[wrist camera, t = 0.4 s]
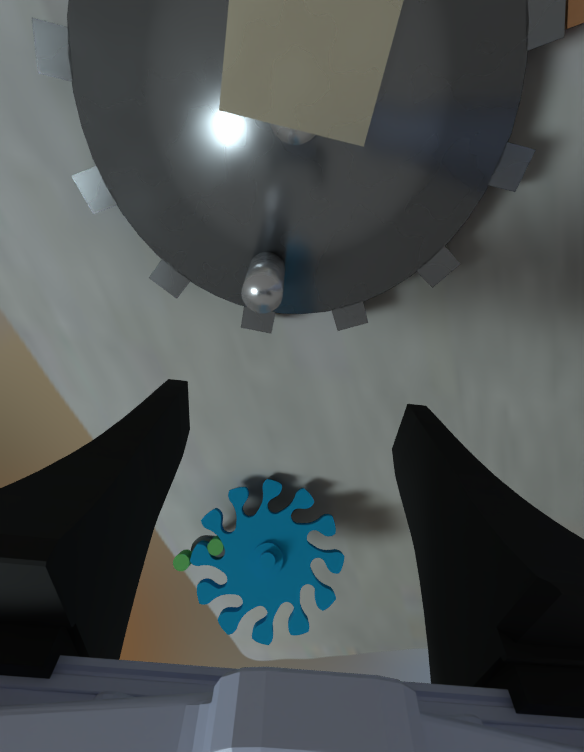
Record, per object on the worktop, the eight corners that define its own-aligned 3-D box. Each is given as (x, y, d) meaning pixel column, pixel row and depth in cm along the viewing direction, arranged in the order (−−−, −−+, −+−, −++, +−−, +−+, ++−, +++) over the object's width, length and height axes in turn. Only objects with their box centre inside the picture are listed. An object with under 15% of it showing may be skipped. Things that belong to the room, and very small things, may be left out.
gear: (348, 484, 26) (343, 654, 24) (336, 480, 32) (331, 617, 30) (180, 474, 26) (161, 644, 24) (199, 472, 32) (184, 609, 30)
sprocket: (562, -507, 9) (706, -845, 6) (542, 264, 18) (592, 296, 15) (-76, -116, 12) (-206, -192, 9) (187, 363, 22) (169, 406, 19)
